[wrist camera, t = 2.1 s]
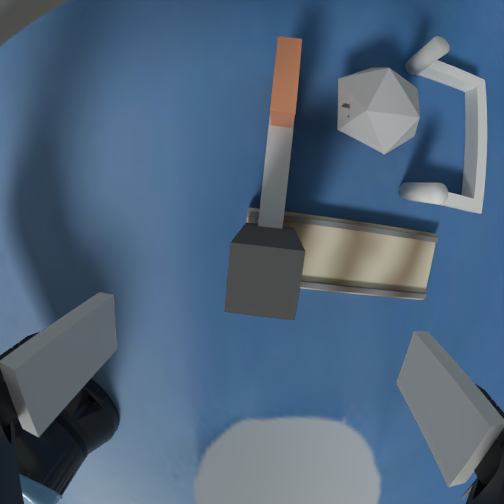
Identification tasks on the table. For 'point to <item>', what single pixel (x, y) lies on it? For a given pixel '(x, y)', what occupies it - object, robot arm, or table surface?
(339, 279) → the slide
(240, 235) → the rod
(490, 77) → the table surface
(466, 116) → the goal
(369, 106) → the die
